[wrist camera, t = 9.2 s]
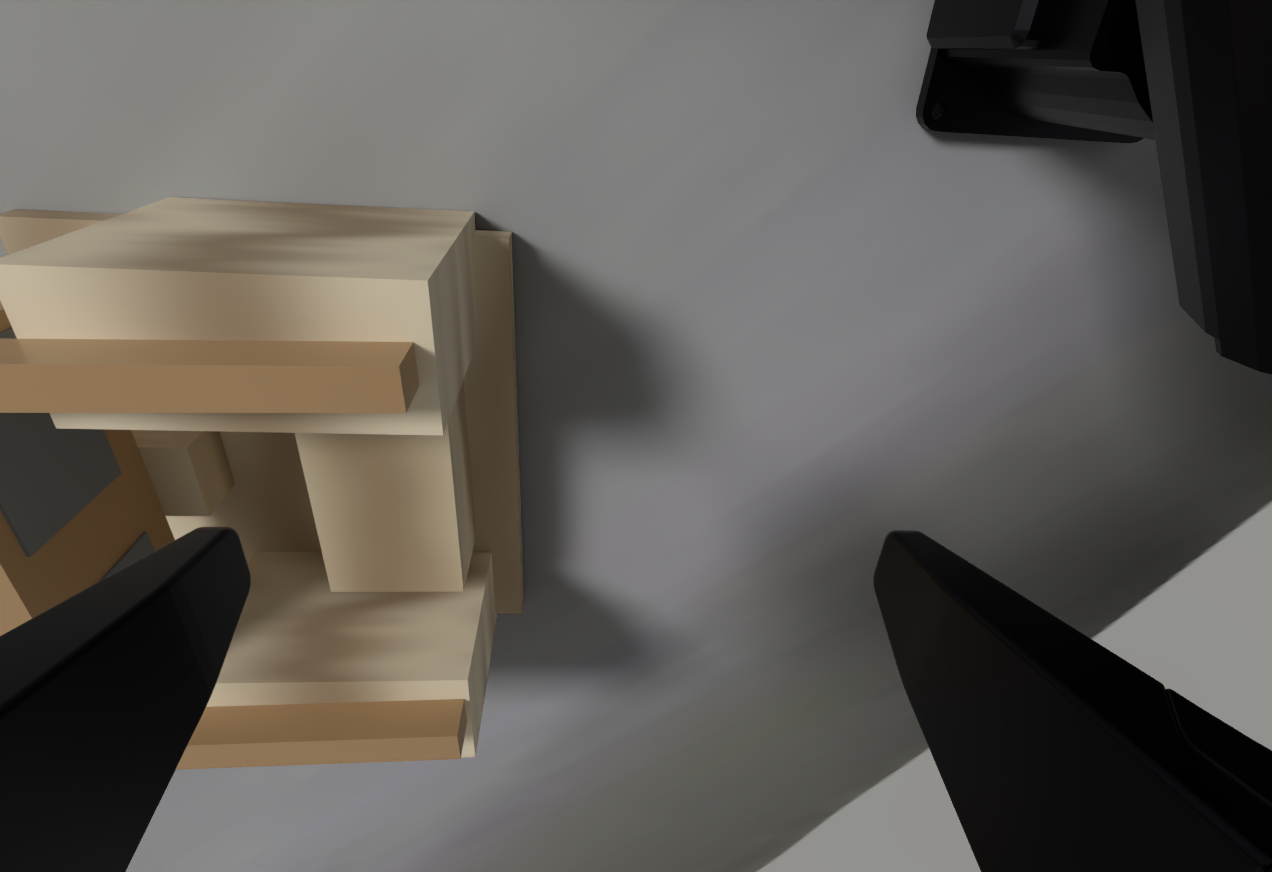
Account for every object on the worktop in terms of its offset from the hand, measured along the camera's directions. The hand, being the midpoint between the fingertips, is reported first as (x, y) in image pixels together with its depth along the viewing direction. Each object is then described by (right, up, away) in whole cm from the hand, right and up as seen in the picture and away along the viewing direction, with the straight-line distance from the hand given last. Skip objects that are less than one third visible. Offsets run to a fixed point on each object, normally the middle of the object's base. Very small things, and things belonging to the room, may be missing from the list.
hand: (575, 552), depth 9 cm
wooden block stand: (-10, +2, +12) cm, 16 cm away
